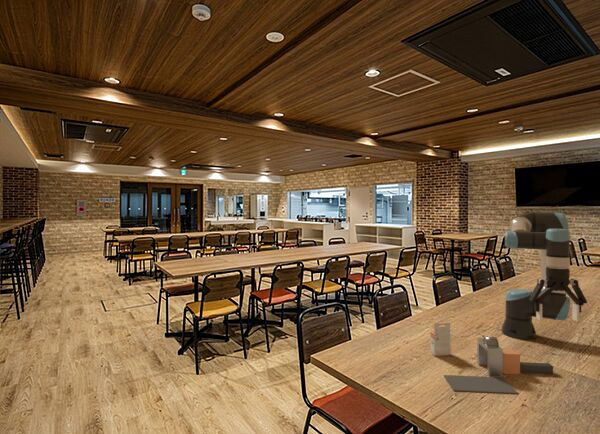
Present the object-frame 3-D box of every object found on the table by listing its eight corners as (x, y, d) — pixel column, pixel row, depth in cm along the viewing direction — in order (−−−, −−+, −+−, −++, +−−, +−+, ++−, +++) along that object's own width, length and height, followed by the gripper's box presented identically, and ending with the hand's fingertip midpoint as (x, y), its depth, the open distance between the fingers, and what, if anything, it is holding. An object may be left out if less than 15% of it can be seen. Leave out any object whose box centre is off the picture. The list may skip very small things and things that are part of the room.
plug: (547, 369, 136) (547, 350, 136) (555, 375, 131) (555, 355, 131) (498, 367, 138) (498, 348, 138) (504, 373, 133) (504, 353, 133)
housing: (489, 364, 141) (489, 332, 141) (502, 377, 130) (502, 343, 130) (477, 363, 142) (477, 332, 141) (489, 376, 131) (489, 342, 130)
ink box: (430, 352, 153) (430, 321, 153) (446, 352, 154) (446, 320, 153) (434, 356, 149) (434, 324, 149) (451, 355, 150) (450, 323, 150)
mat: (502, 378, 129) (502, 377, 129) (518, 393, 118) (518, 392, 118) (443, 376, 131) (443, 375, 131) (453, 391, 121) (453, 390, 121)
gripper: (584, 266, 135) (584, 317, 136) (519, 265, 138) (519, 316, 138) (599, 269, 128) (598, 324, 128) (529, 268, 131) (529, 322, 131)
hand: (557, 320), depth 133 cm, fingers open, 13 cm apart
